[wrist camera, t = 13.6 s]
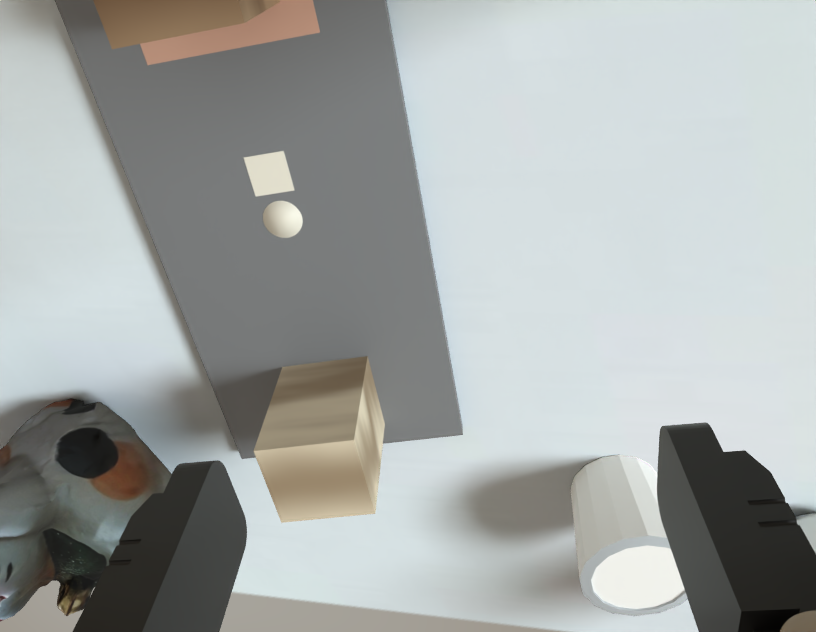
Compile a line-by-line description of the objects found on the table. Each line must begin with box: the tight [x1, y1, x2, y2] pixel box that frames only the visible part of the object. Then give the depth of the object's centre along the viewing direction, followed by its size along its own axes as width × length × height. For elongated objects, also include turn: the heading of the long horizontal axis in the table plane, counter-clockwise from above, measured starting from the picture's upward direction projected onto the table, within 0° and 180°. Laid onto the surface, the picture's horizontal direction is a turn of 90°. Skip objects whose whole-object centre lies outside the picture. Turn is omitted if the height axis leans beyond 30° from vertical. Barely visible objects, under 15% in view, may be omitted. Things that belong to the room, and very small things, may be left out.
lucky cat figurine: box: [0, 399, 172, 621], centre depth 40 cm, size 15×12×14 cm
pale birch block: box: [254, 356, 385, 522], centre depth 37 cm, size 5×5×7 cm
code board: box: [55, 0, 463, 459], centre depth 34 cm, size 33×14×1 cm, turn 10°
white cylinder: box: [570, 455, 688, 616], centre depth 41 cm, size 7×7×7 cm
